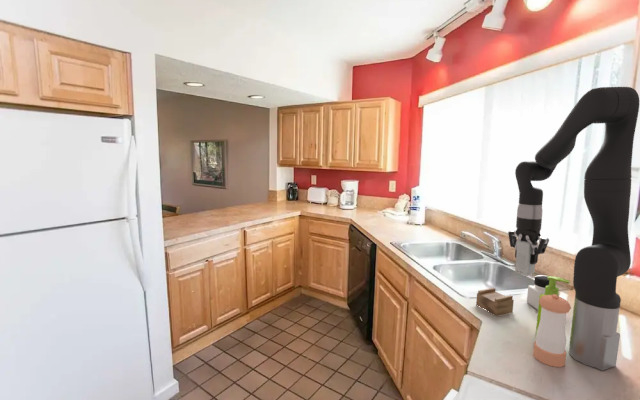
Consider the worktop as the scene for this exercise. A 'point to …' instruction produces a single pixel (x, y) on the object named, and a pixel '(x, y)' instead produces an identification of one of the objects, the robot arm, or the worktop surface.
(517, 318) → the worktop surface
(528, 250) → the skincare box
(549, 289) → the soap dispenser
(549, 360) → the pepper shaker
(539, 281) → the medicine bottle
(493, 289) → the display pedestal
